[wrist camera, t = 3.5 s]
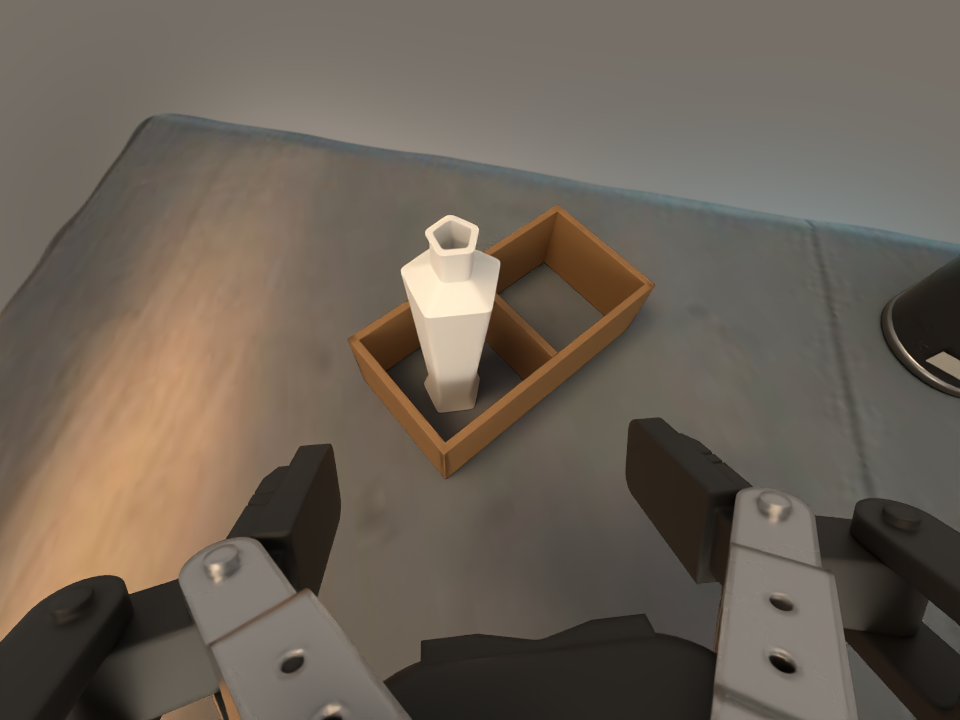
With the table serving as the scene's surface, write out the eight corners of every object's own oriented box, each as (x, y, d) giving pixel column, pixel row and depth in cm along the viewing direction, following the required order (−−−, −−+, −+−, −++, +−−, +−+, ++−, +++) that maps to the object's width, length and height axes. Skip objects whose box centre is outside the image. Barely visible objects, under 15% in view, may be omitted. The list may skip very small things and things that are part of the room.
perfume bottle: (499, 402, 31) (533, 257, 18) (440, 428, 30) (430, 295, 17) (469, 348, 33) (480, 181, 20) (413, 372, 32) (384, 211, 19)
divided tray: (544, 255, 37) (557, 203, 33) (627, 328, 35) (655, 284, 30) (363, 378, 32) (347, 338, 27) (445, 479, 29) (443, 455, 24)
